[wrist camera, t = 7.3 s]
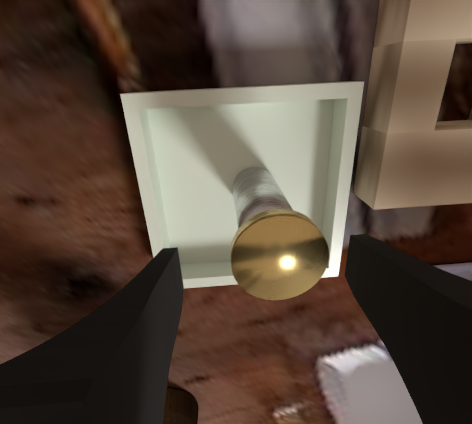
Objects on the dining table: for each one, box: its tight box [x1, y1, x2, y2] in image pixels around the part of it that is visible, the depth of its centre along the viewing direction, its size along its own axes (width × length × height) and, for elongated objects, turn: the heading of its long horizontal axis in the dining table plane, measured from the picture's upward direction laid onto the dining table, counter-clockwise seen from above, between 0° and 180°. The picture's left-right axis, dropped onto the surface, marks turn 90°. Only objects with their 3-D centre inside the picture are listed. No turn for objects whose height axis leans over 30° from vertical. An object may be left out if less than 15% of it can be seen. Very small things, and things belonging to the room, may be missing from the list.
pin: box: [230, 166, 329, 300], centre depth 15 cm, size 4×4×9 cm
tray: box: [120, 81, 364, 288], centre depth 19 cm, size 13×13×2 cm
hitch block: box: [353, 0, 472, 210], centre depth 17 cm, size 14×10×3 cm
